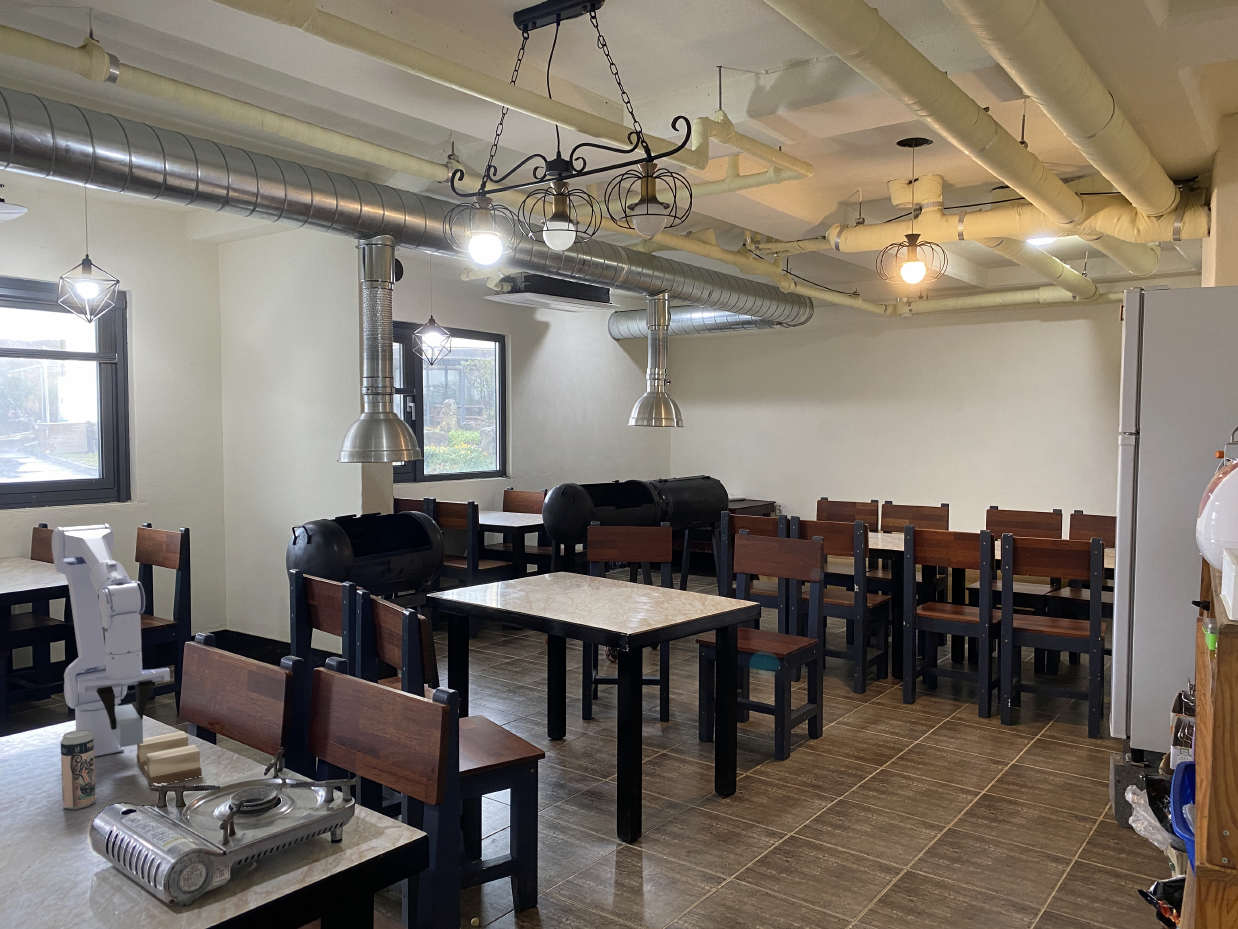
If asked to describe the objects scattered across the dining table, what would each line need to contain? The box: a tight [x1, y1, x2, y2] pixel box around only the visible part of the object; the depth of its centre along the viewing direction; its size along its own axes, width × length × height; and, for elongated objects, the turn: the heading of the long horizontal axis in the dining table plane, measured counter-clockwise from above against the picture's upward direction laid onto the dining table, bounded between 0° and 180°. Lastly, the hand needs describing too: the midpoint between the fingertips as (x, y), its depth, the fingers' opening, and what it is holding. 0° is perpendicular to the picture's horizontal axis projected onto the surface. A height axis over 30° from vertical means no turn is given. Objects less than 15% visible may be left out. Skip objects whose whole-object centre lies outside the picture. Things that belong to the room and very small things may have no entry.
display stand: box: [136, 730, 203, 786], centre depth 169 cm, size 16×8×4 cm, turn 36°
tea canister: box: [59, 729, 97, 811], centre depth 153 cm, size 5×5×12 cm
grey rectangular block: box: [111, 703, 144, 748], centre depth 167 cm, size 13×4×4 cm, turn 35°
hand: (126, 726), depth 167 cm, fingers closed on grey rectangular block, 3 cm apart
